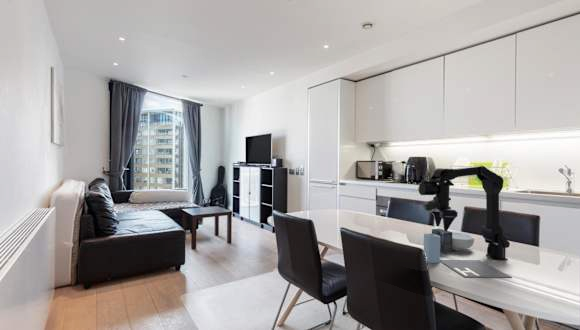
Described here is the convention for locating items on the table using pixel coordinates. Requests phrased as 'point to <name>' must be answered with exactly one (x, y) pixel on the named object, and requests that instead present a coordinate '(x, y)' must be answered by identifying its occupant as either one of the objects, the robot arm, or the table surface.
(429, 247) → the dusty blue block
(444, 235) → the box
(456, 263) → the letter mat
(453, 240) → the cereal bowl
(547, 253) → the table surface
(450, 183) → the robot arm
